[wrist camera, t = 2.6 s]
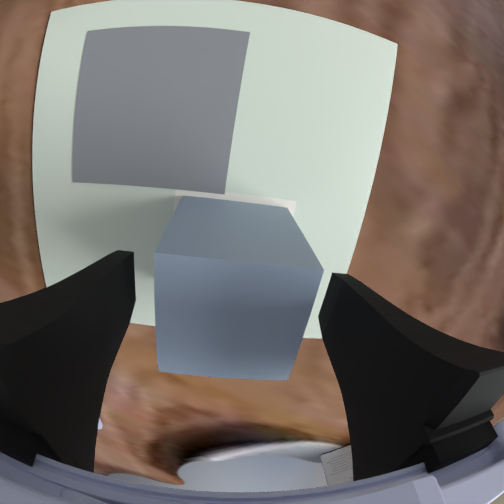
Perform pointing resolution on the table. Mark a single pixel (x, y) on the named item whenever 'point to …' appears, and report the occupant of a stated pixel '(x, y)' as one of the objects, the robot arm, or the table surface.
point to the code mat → (202, 127)
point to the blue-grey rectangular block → (232, 290)
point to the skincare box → (338, 466)
